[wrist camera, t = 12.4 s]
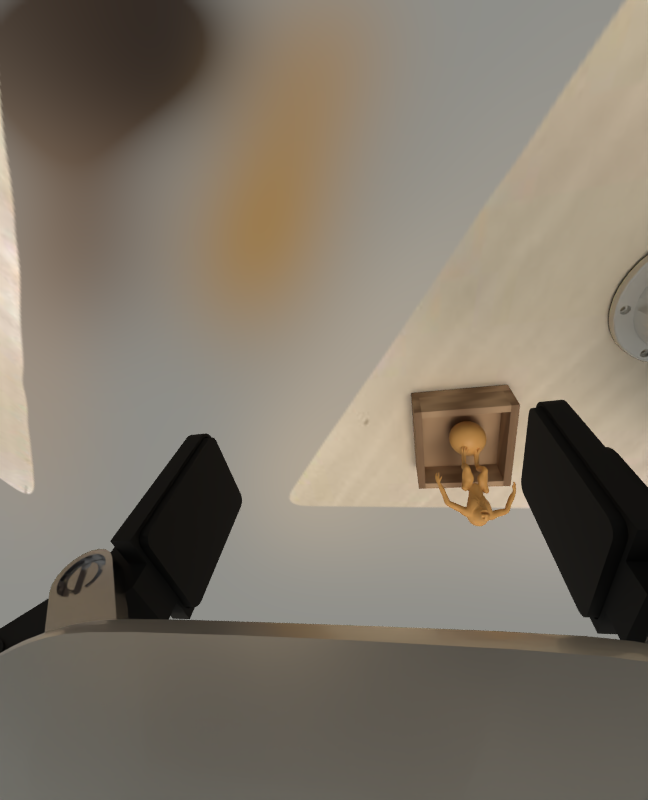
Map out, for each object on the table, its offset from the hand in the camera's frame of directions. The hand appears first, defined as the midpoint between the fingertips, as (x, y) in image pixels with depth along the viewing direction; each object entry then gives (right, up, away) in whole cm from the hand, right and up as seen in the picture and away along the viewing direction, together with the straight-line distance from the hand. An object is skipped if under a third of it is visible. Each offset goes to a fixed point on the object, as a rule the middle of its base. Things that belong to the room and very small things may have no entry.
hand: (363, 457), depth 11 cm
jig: (+15, -2, +33) cm, 36 cm away
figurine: (+15, -2, +32) cm, 35 cm away
